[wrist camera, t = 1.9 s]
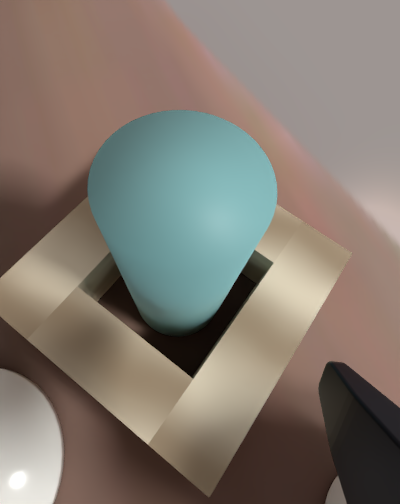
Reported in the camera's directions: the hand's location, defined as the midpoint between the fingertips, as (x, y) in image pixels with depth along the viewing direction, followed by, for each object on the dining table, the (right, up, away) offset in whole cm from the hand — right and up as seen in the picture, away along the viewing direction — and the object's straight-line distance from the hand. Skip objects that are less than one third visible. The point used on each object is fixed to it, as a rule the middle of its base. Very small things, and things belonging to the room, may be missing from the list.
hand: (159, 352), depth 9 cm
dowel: (0, 0, +12) cm, 12 cm away
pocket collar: (0, 0, +12) cm, 12 cm away
